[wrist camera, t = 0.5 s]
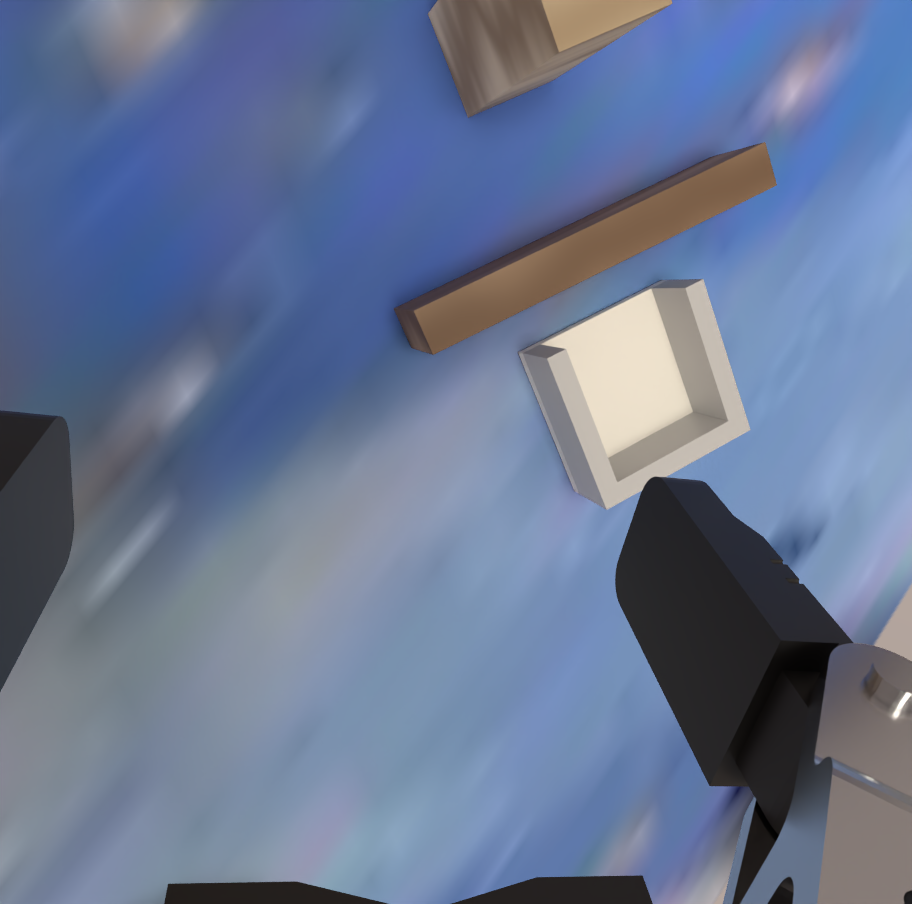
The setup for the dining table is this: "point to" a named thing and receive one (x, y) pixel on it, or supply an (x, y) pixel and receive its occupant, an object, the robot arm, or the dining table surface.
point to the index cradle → (637, 390)
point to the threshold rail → (583, 249)
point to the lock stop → (526, 41)
